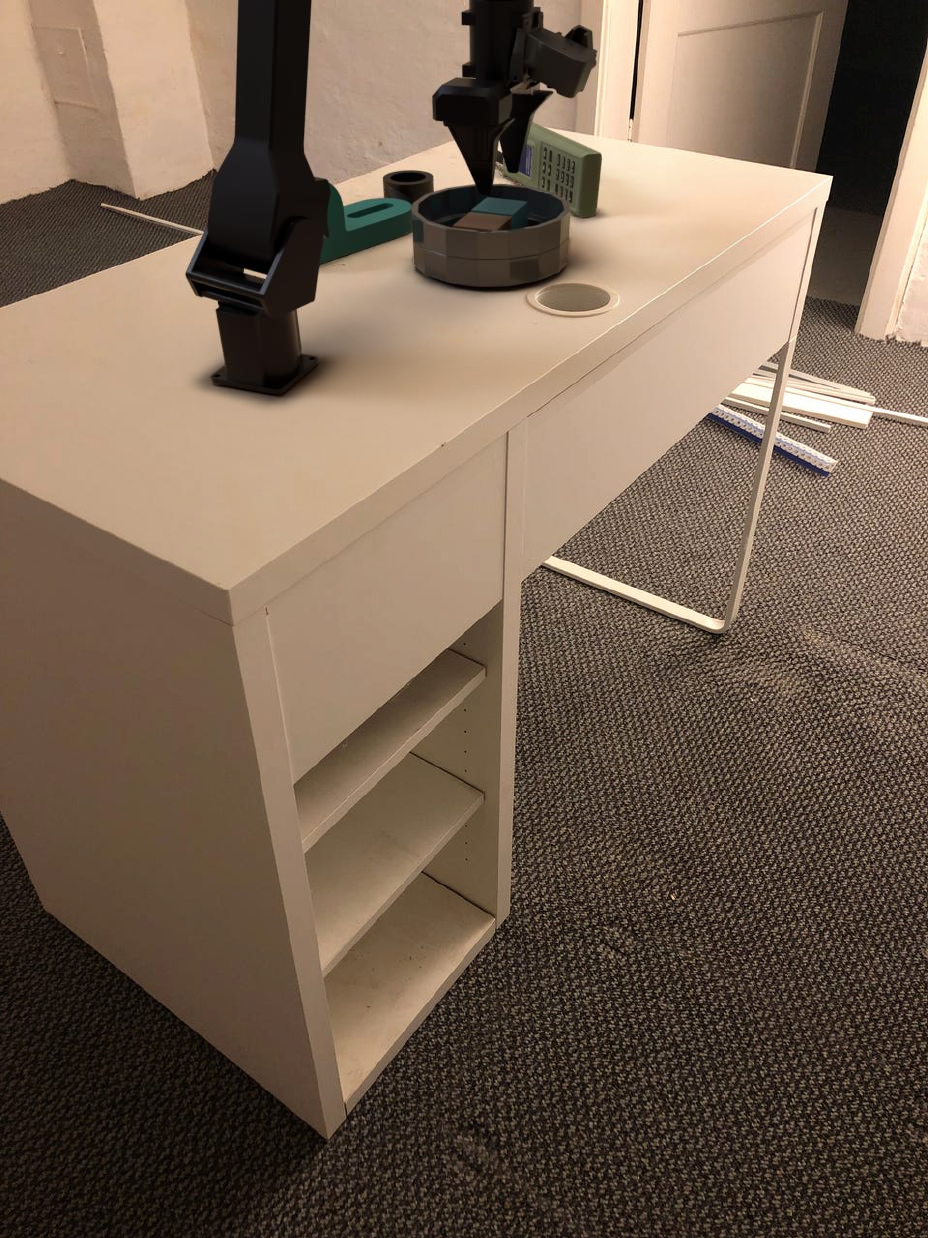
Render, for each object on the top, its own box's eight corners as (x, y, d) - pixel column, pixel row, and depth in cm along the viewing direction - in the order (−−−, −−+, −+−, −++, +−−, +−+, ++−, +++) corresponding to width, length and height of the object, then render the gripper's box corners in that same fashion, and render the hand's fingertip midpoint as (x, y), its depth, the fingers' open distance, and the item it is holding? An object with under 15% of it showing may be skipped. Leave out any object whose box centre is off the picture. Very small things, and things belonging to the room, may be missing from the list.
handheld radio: (575, 219, 110) (477, 164, 128) (600, 215, 111) (500, 161, 129) (581, 154, 106) (479, 106, 123) (607, 151, 107) (503, 104, 125)
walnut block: (495, 277, 95) (496, 230, 92) (453, 271, 96) (452, 225, 94) (511, 262, 98) (512, 216, 95) (470, 256, 100) (469, 211, 97)
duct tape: (355, 208, 114) (353, 181, 112) (412, 187, 120) (411, 161, 118) (405, 220, 110) (404, 193, 108) (462, 198, 116) (461, 172, 114)
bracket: (296, 272, 98) (286, 188, 93) (254, 256, 102) (243, 175, 97) (425, 227, 108) (422, 150, 103) (383, 214, 112) (378, 139, 107)
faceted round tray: (538, 300, 92) (540, 239, 88) (389, 279, 96) (385, 221, 93) (585, 247, 103) (588, 191, 99) (449, 231, 107) (448, 177, 104)
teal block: (512, 259, 99) (513, 214, 96) (471, 254, 100) (471, 209, 97) (527, 245, 102) (528, 201, 99) (486, 241, 103) (487, 196, 100)
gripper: (556, 16, 78) (548, 220, 88) (618, -15, 91) (605, 165, 101) (426, 10, 81) (433, 207, 91) (505, -19, 95) (503, 156, 105)
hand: (499, 183), depth 97 cm, fingers open, 7 cm apart
